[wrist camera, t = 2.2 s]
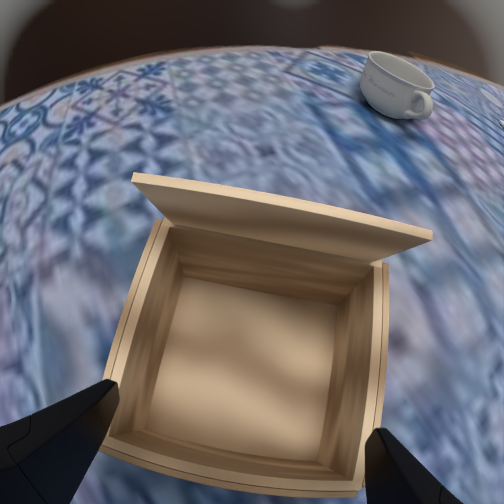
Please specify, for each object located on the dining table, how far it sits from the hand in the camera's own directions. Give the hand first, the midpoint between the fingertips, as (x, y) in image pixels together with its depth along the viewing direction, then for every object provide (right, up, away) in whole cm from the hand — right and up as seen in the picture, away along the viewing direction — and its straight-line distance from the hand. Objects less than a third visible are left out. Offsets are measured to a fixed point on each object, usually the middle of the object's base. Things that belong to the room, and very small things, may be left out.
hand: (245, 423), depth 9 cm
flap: (+1, +7, +6) cm, 9 cm away
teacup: (+21, +27, +32) cm, 47 cm away
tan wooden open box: (0, -3, +13) cm, 14 cm away
